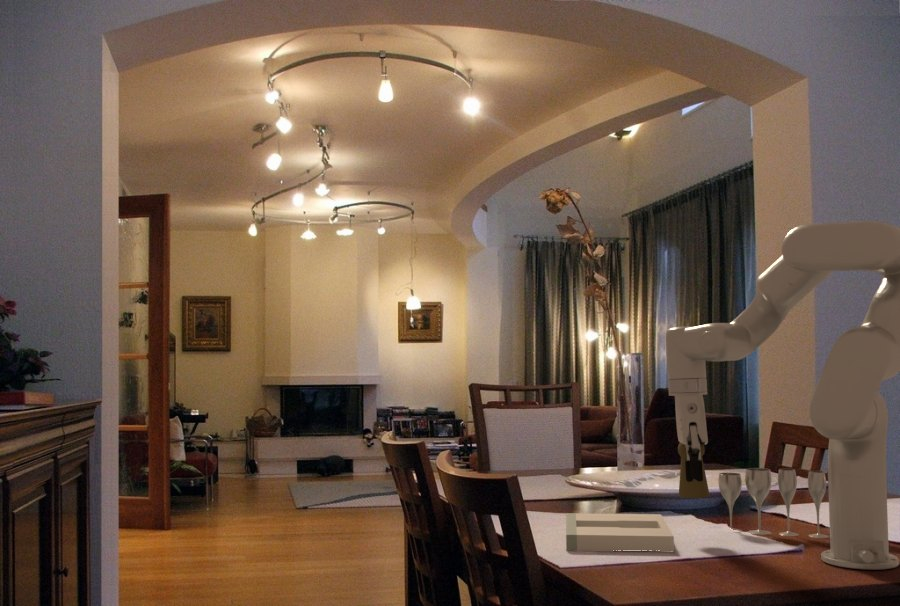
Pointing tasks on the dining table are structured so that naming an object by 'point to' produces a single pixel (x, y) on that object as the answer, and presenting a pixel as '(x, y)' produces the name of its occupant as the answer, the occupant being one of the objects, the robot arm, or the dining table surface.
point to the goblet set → (760, 487)
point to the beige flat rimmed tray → (617, 532)
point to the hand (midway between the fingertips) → (693, 479)
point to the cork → (693, 479)
